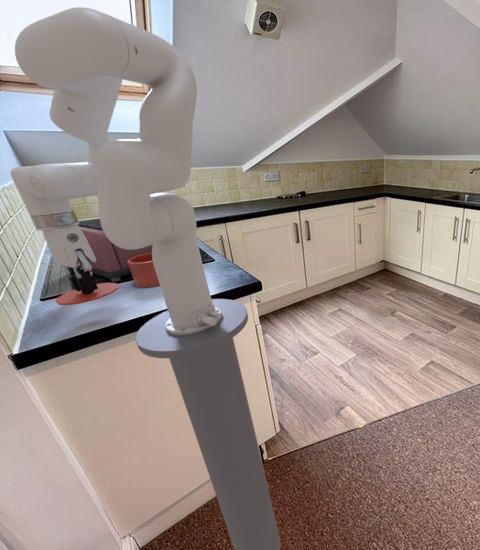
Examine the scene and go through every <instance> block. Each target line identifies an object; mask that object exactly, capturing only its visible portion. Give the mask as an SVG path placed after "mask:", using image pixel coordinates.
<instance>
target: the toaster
mask: <svg viewBox="0 0 480 550" xmlns="http://www.w3.org/2000/svg"><path fill="white" fill-rule="evenodd" d="M78 222H79V224H78V226H79V227H80V229H81V230H82V232H83V234H84V236H85V237H86V239H87V241H88V243H89V245H90V247H91V249H92V251H93V254H94V256H95V258H96V262H95V263H89V264H90V265H91V267H92V270H91V272H92V274H94V275H97V276H100V277H104V278H107V279H110V281H111V282H112V283H115V282H120V281H121V280H122V277H124V276H127V275H132V274H131V271H130V268H129V265H128V263H127V260H129V259H130V258H133V257H135V256H138V255H142V254H147V253H152V247H153V245H150V246H147V247H143V248H140V249H133V250H129V249H123V248H120V247H118V246H116V245H114V244H113V243H112V242H111V241H110V240H109V239H108V238H107V237H106V235H105V233H104V231H103V229H102V226H101V222H100V218H93V219H88V220H82V221H78ZM80 265H81V264H80Z"/></svg>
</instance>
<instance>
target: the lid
mask: <svg viewBox="0 0 480 550" xmlns="http://www.w3.org/2000/svg"><path fill="white" fill-rule="evenodd" d="M74 277H75V279H78V278H77V276H76V274H74ZM76 281H77V280H76ZM77 283H78V282H77ZM78 285H79V284H78ZM96 285H97V287H98V289H96V290H93V291H90V292H87V293H82V291H76V290H75V289H73V290H70V291H68V292H65V293H63V294H61V295H60V296H58V297H57V298H56V299H55V303H56V304H57V305H60V306H73V305H80V304H85V303H90V302H93V301H96V300H99V299H103V298H104V297H107V296H109V295H111V294H113V293H115V292H117V291H118V290H119V288H120V286H119V284H118V283H116V282H101V283H96ZM80 290H81V289H80Z"/></svg>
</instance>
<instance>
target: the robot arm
mask: <svg viewBox="0 0 480 550" xmlns="http://www.w3.org/2000/svg"><path fill="white" fill-rule="evenodd" d="M14 55H15V60H16V63H17V65H18V67H19V68H20V70H21V72H22V73H23V74H24V75H25V76H26V77H27V78H28V79H29V80H30V81H31V82H33V83H35V84H37V85H38V86H40V87H43V88H47V89H51V90H53V95H52V99H51V104H50V108H49V111H48V113H49V119H50V120H51V121H52V123H53V124H54V125H55V126H56V127H57V128H59V129H60V130H61V131H63V132H65V133H66V134H68V135H70V136H72V137H74V138H76V139H78V140H81V141H83V142H85V143H88V150H87V155H86V158H85V160H84V162H58V163H42V164H35V165H28V166H27V165H26V166H17V167H13V168H12V169H10V176H11V179H12V181H13V183H14V185H15V187H16V189H17V191H18V193H19V195H20V198H21V200H22V202H23V204H24V205H25V208H26V211H27V212H28V214H29V216H30V218H31V220H32V223H33V225H34V227H35V228H36V229H35V230H36V231H42V234H43V237H44V241H45V242H46V245H47V246H48V249H49V251H50V254H51V256H52V257H53V259H54V261H55V262H56V264H58V265H59V266H63V267H64V269H65V270H66V273H67V275H68V277H69V278H70V281H71V283H72V285H73V288H74V290H76V291H82V293H87V292H90V291H93V290H96V289H98V287H97V285H96V284H97V282H96V279H95V278H94V275H93V273H92V272H91V270H92V267H91V265H90V264H89V263H95V262H96V258H95V256H94V254H93V251H92V249H91V247H90V245H89V243H88V241H87V239H86V237H85V236H84V234H83V232H82V230H81V229H80V227H79V226H78V224H79V222H80V221H79V220H78V217H77V214H76V212H75V210H74V208H73V205H72V202H71V200H72V199H78V198H85V197H92V196H93V197H95V196H97V202H98V203H97V205H98V215H99V219H100V222H101V226H102V229H103V231H104V233H105V235H106V237H107V238H108V239H109V240H110V241H111V242H112V243H113V244H114V245H116V246H118V247H120V248H123V249H129V250H133V249H140V248H143V247H147V246H150V245H153V247H152V261H153V264H154V268H155V271H156V274H157V278H158V281H159V284H160V285H159V286H160V289H161V292H162V296H163V299H164V303H165V305H166V309H167V311H168V312H169V315H170V319H168V321H167V322H166V324H165V328H166V331H167V332H168V333H170V334H174V335H187V334H193V333H197V332H200V331H203V330H206V329H208V328H210V327H212V326H214V325H216V324H217V322H219V320H220V319H221V318H222V312H221V310H220V309H219V308H217V307H215V306H214V305H213V304H212V300H211V299H212V297H211V293H210V288H209V284H208V281H207V276H206V271H205V269H204V268H205V267H204V265H203V260H202V256H201V252H200V251H201V250H200V247H199V241H198V233H197V231H198V230H197V217H196V212H195V209H194V207H193V205H192V204H191V202H190V201H189V200H188V199H186V198H185V197H183V196H182V195H179V194H176V193H172V192H170V191H175V190H179V189H181V188H184V187H186V186H187V185H188V183H189V181H190V177H191V168H192V154H193V153H192V152H193V151H192V150H193V149H192V148H193V129H194V128H193V127H194V117H195V110H196V105H197V96H198V87H197V79H196V78H195V77H196V76H195V73H194V70H193V69H192V66H191V65H190V62H189V61H188V60H187V58H186V57H185V56H184V55H183V54H182V52H181V51H180V50H179V49H178V48H177V47H175V46H174V45H173V44H172V43H170V42H169V41H167V40H166V39H164V38H162V37H161V36H158V35H157V34H154V33H153V32H150V31H148V30H146V29H143V28H141V27H139V26H136V25H134V24H131V23H129V22H126V21H123V20H121V19H119V18H117V17H114V16H112V15H109V14H107V13H104V12H102V11H99V10H97V9H93V8H90V7H79V6H77V7H71V8H68V9H64V10H62V11H60V12H57V13H54V14H52V15H49V16H47V17H44V18H41V19H39V20H36V21H34V22H32V23H31V24H28V25H27V26H25V27H24V28H23V29H22V30H21V31H20V33H19V34H18V35H17V37H16V40H15V43H14ZM123 81H128V82H132V83H138V84H142V85H146V86H147V87H149V88H150V91H148V93H147V95H146V96H145V97H144V99H143V101H142V103H141V106H140V110H139V115H138V117H139V132H138V137H137V138H136V139H129V138H128V139H127V138H126V139H125V138H123V139H122V138H121V139H113V140H110V139H109V138H108V131H109V127H110V124H111V121H112V118H113V114H114V111H115V108H116V105H117V101H118V97H119V94H120V91H121V88H122V83H123ZM80 264H81V265H80ZM74 274H76V276H77V278H78V279H75V277H74ZM76 280H77V281H76ZM77 282H78V283H77ZM78 284H79V285H78ZM80 289H81V290H80Z"/></svg>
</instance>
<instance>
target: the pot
mask: <svg viewBox="0 0 480 550" xmlns="http://www.w3.org/2000/svg"><path fill="white" fill-rule="evenodd" d="M127 263H128V265H129V268H130V271H131V274H130V275H131V277H132V279H133V282H134V285H135V286H136V287H137V288H153V287H158V286H160V284H159V281H158V278H157V274H156V271H155V268H154V264H153V261H152V253H147V254H142V255H138V256H135V257H133V258H130V259H129V260H127Z"/></svg>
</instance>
